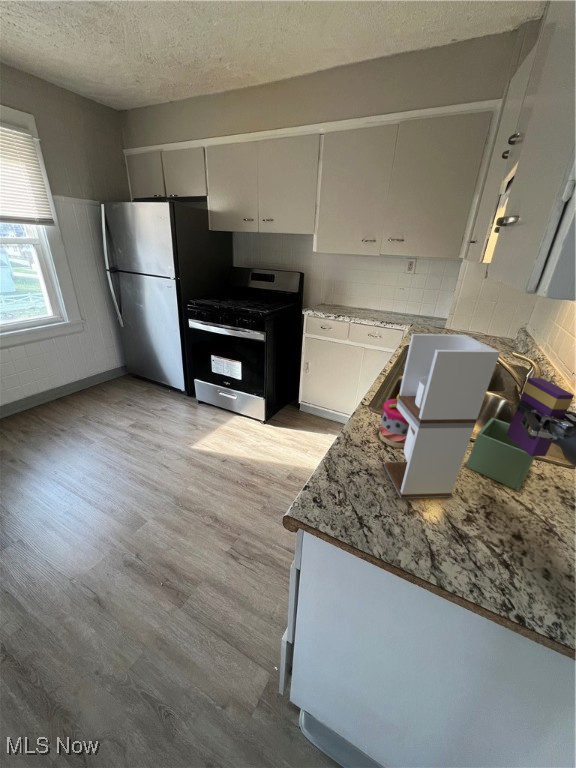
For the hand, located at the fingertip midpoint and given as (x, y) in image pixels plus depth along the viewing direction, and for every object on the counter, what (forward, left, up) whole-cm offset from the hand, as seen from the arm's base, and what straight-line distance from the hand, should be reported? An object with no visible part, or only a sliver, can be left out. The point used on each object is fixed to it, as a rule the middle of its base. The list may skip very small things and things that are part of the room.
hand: (527, 404), depth 61 cm
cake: (+26, -4, -24) cm, 35 cm away
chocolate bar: (-2, +2, -8) cm, 8 cm away
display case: (+14, +9, -24) cm, 29 cm away
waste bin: (+2, -11, -24) cm, 26 cm away
